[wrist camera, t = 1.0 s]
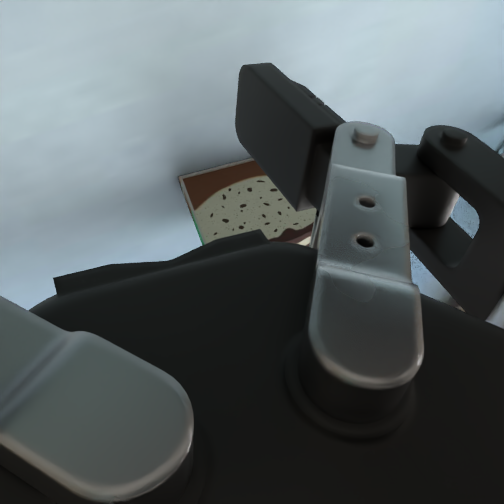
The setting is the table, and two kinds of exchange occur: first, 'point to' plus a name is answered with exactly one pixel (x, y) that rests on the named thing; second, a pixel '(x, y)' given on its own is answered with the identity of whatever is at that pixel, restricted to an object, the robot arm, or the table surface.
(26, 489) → the robot arm
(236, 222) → the food container
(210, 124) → the table surface
